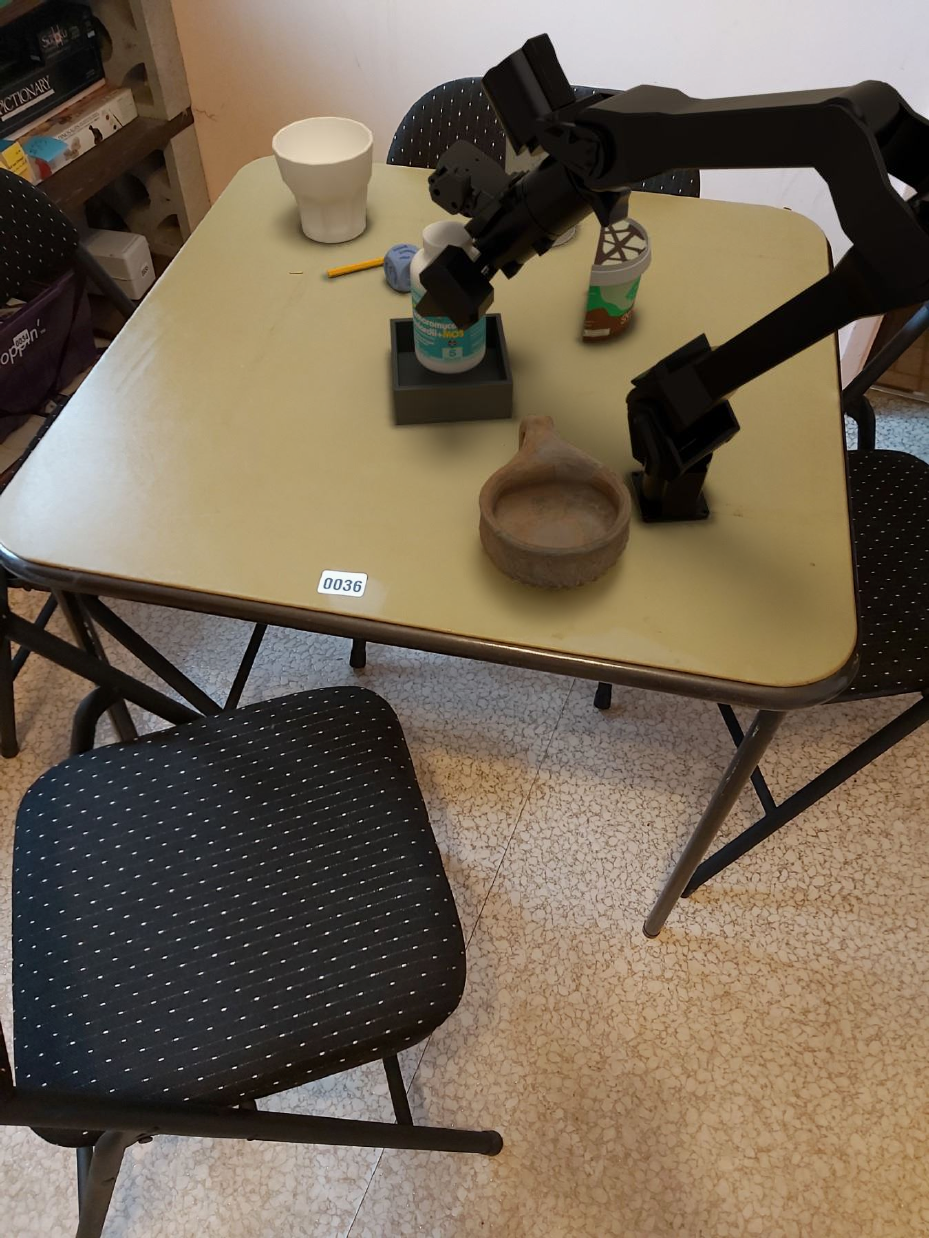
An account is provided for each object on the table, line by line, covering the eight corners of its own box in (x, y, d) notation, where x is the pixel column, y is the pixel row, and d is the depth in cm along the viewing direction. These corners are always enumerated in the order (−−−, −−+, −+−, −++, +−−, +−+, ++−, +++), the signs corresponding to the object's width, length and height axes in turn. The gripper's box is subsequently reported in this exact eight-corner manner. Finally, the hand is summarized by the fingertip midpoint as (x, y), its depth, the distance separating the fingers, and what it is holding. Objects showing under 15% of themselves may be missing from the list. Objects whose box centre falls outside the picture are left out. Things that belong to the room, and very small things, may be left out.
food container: (635, 355, 95) (650, 274, 87) (580, 349, 95) (591, 267, 87) (643, 293, 102) (658, 213, 94) (592, 288, 103) (603, 207, 94)
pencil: (464, 245, 108) (464, 240, 108) (329, 278, 104) (328, 273, 103) (462, 242, 109) (462, 237, 108) (327, 274, 104) (326, 269, 104)
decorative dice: (411, 270, 105) (410, 240, 102) (428, 285, 103) (427, 255, 100) (384, 280, 104) (381, 249, 101) (400, 296, 102) (398, 265, 99)
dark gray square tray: (511, 418, 89) (513, 383, 85) (396, 424, 88) (393, 390, 84) (499, 347, 96) (500, 312, 92) (392, 353, 95) (389, 318, 92)
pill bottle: (402, 365, 88) (391, 242, 77) (436, 327, 92) (430, 205, 81) (465, 385, 86) (463, 261, 75) (498, 346, 89) (500, 223, 79)
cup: (279, 211, 114) (263, 124, 105) (368, 196, 116) (360, 110, 107) (296, 259, 107) (281, 170, 98) (391, 242, 109) (384, 154, 100)
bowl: (426, 483, 81) (452, 396, 74) (552, 480, 87) (587, 399, 79) (491, 623, 71) (527, 538, 64) (629, 608, 76) (676, 529, 69)
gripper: (530, 76, 73) (424, 180, 85) (435, 170, 63) (330, 273, 75) (604, 185, 78) (494, 269, 89) (526, 289, 68) (414, 368, 79)
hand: (436, 291), depth 83 cm, fingers closed on pill bottle, 7 cm apart
